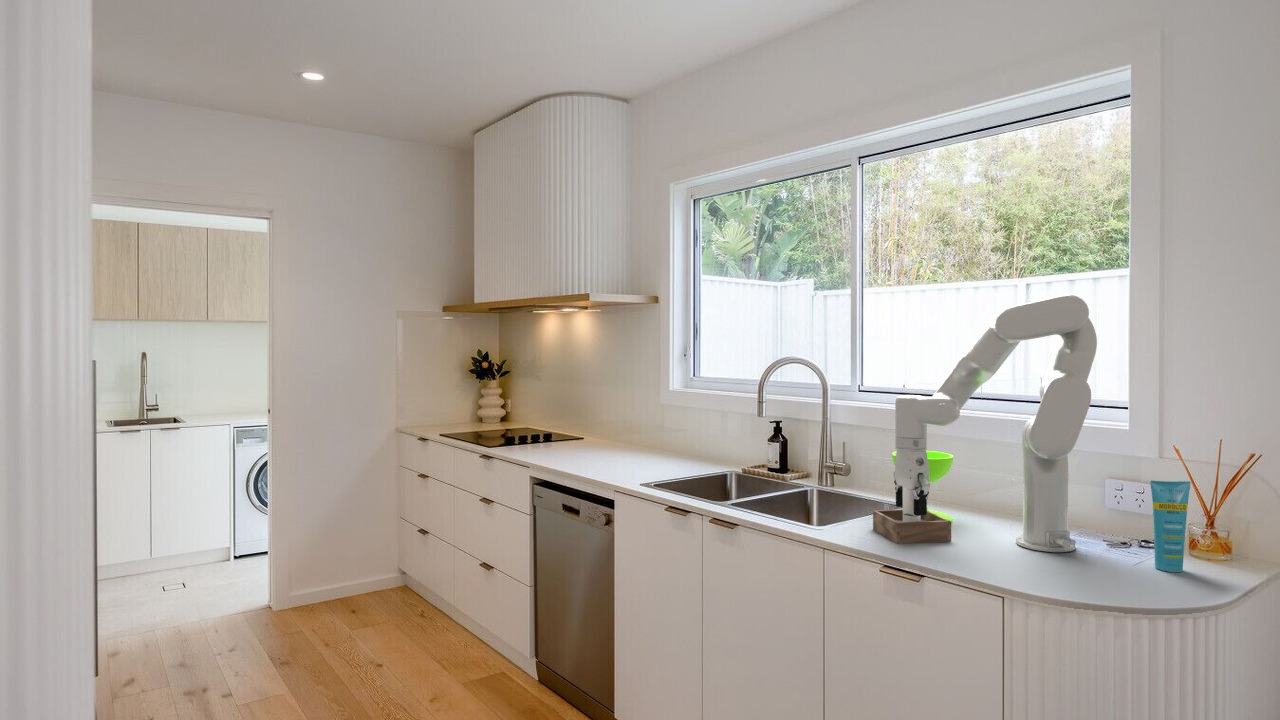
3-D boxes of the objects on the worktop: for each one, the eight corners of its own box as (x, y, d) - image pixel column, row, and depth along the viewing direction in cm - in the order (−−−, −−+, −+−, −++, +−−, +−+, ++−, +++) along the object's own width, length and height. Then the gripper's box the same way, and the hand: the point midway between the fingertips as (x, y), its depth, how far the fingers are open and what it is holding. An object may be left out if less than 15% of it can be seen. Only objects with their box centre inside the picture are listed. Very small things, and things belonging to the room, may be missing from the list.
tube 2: (1156, 572, 159) (1156, 482, 158) (1144, 565, 164) (1145, 478, 163) (1194, 573, 158) (1195, 483, 157) (1181, 566, 162) (1182, 478, 162)
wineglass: (880, 514, 214) (880, 452, 214) (928, 511, 218) (928, 449, 218) (915, 527, 198) (915, 460, 198) (966, 523, 203) (966, 457, 202)
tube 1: (899, 533, 192) (899, 475, 192) (915, 533, 193) (915, 475, 192) (907, 537, 188) (907, 478, 188) (923, 537, 189) (923, 478, 188)
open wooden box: (951, 541, 184) (951, 521, 184) (897, 543, 183) (897, 523, 183) (923, 527, 198) (923, 508, 198) (873, 529, 197) (873, 510, 197)
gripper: (942, 448, 182) (942, 517, 182) (908, 439, 199) (908, 503, 199) (913, 448, 181) (913, 518, 181) (882, 439, 198) (882, 503, 199)
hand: (910, 510), depth 190 cm, fingers open, 9 cm apart
